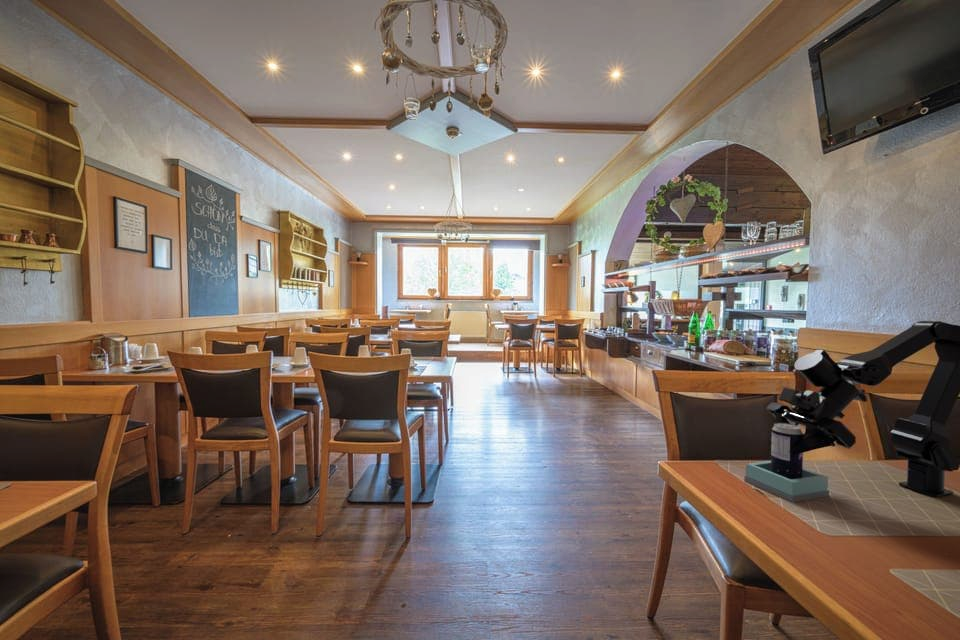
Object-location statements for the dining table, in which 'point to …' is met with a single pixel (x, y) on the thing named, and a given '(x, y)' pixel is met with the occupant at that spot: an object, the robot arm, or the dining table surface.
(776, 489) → the can dock
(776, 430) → the beverage can
